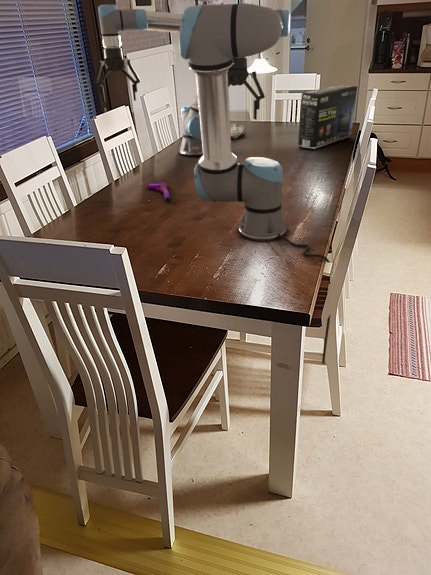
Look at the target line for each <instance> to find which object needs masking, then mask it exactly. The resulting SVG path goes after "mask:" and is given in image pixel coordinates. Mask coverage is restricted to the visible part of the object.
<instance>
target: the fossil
mask: <svg viewBox="0 0 431 575" xmlns="http://www.w3.org/2000/svg"><path fill="white" fill-rule="evenodd" d="M245 130H247V127H246V126H245V125H242V124H239V125H238V124H237V123H236V122H231V121H230V131H231V138H232V137H236V136H240V135H241V134H242V135H243V134H244V133H243V132H244V131H245ZM242 135H241V136H242ZM241 136H240V137H241ZM232 139H233V140H236V139H239V137H236V138H232Z"/></svg>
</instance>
